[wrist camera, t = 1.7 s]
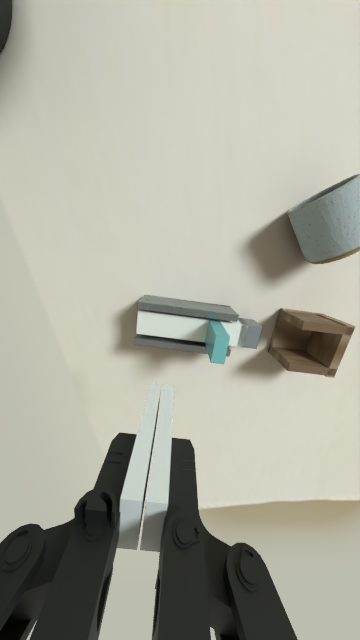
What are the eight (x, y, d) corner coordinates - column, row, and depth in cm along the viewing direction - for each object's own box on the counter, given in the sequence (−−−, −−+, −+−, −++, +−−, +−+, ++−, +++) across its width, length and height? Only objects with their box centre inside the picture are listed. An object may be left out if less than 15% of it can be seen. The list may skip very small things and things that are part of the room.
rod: (142, 305, 31) (126, 323, 22) (253, 319, 31) (283, 343, 22) (141, 325, 32) (124, 351, 23) (248, 339, 32) (274, 370, 23)
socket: (280, 308, 32) (304, 319, 26) (321, 313, 32) (355, 326, 26) (268, 351, 34) (287, 371, 28) (306, 356, 35) (333, 377, 28)
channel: (144, 294, 32) (137, 301, 26) (229, 306, 32) (238, 315, 27) (141, 331, 33) (134, 344, 28) (221, 341, 34) (229, 356, 29)
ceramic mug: (296, 267, 30) (335, 268, 23) (276, 217, 28) (311, 201, 21) (364, 229, 29) (428, 217, 21) (347, 173, 27) (412, 139, 19)
